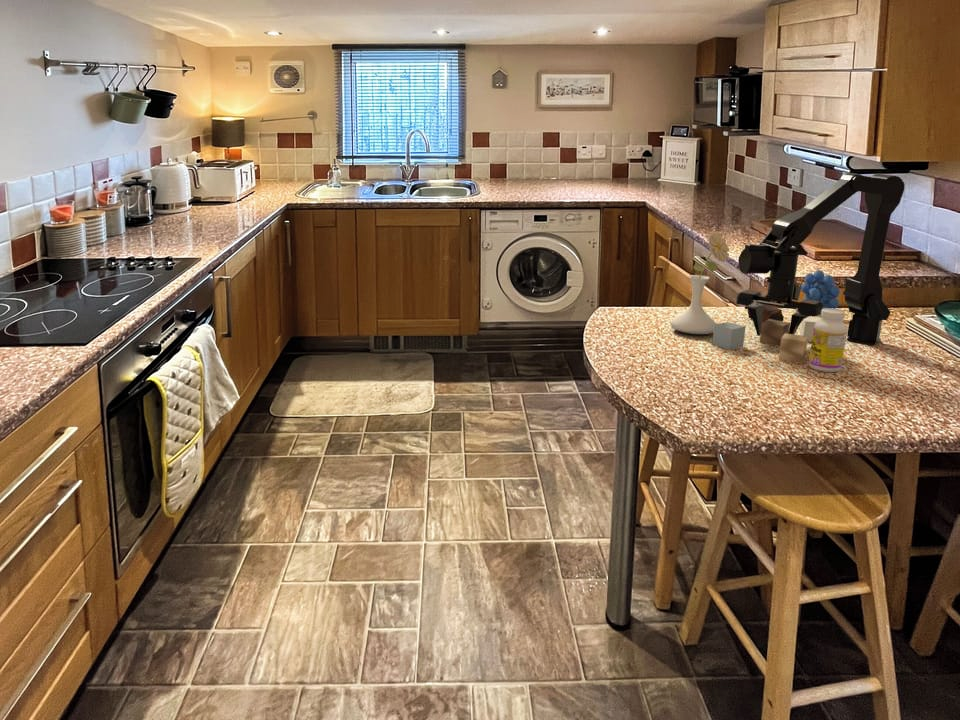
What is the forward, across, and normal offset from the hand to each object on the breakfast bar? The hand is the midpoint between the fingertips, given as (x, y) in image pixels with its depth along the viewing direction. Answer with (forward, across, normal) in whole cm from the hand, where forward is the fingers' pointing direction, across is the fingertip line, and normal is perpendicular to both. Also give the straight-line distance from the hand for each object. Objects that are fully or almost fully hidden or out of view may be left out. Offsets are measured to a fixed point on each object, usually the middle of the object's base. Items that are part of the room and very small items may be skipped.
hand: (774, 338), depth 209 cm
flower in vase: (+1, +18, +4) cm, 18 cm away
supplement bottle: (+1, -16, +14) cm, 21 cm away
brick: (+2, +9, -19) cm, 21 cm away
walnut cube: (+1, 0, 0) cm, 1 cm away
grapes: (+1, +2, -39) cm, 39 cm away
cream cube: (+1, -6, -10) cm, 12 cm away
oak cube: (+1, -8, +11) cm, 14 cm away
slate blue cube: (+1, +7, +11) cm, 13 cm away
